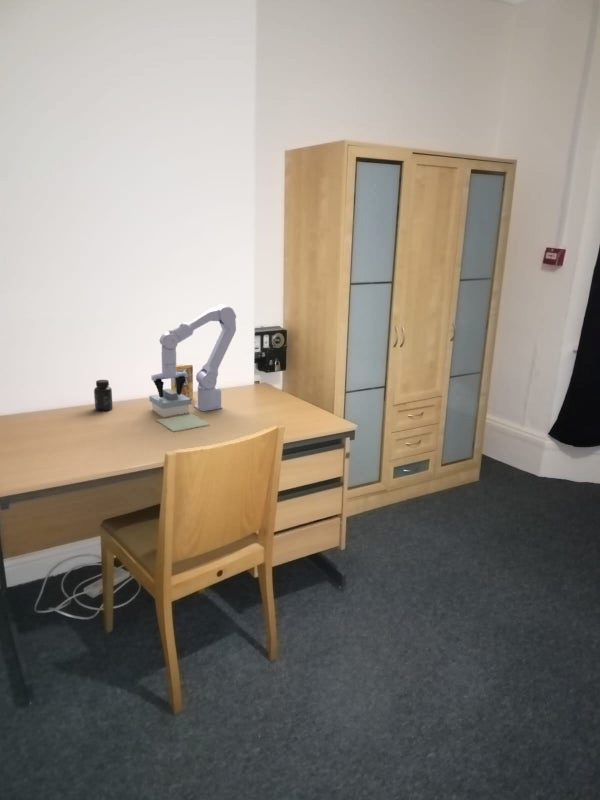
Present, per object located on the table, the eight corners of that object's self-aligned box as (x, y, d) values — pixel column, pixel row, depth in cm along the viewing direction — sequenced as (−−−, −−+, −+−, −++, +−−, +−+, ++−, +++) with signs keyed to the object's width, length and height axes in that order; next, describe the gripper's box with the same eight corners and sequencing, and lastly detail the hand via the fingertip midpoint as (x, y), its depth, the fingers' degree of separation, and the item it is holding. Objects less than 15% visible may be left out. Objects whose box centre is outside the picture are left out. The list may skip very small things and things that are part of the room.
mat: (191, 414, 231) (191, 413, 231) (209, 425, 219) (209, 424, 219) (156, 420, 222) (156, 419, 222) (173, 431, 211) (173, 430, 211)
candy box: (188, 396, 256) (188, 363, 252) (193, 398, 253) (193, 365, 249) (171, 399, 251) (170, 365, 246) (175, 401, 248) (174, 367, 243)
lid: (177, 396, 241) (177, 385, 240) (190, 404, 232) (190, 392, 231) (149, 400, 234) (149, 389, 233) (162, 408, 225) (161, 397, 223)
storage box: (177, 406, 242) (176, 394, 240) (188, 412, 233) (188, 401, 232) (152, 409, 235) (152, 398, 234) (163, 417, 227) (163, 405, 225)
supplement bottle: (92, 408, 234) (90, 380, 230) (108, 405, 238) (107, 378, 235) (99, 412, 229) (97, 384, 226) (115, 410, 233) (113, 381, 230)
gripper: (181, 359, 236) (182, 391, 239) (147, 362, 227) (149, 395, 231) (189, 362, 230) (189, 395, 234) (155, 366, 222) (156, 399, 226)
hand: (169, 395), depth 232 cm, fingers open, 7 cm apart
